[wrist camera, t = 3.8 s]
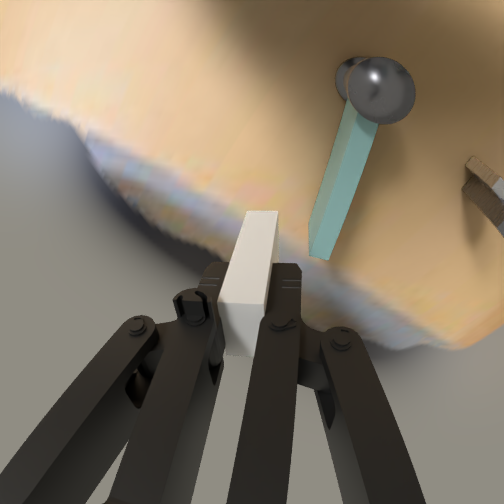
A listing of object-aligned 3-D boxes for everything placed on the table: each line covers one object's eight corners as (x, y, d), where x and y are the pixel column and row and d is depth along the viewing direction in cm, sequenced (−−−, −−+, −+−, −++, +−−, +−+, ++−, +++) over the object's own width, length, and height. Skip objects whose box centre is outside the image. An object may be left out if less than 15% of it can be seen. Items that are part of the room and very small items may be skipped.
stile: (452, 179, 24) (488, 217, 18) (472, 155, 22) (513, 187, 16) (472, 201, 24) (507, 242, 19) (492, 179, 23) (531, 215, 17)
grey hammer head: (324, 85, 21) (334, 95, 16) (354, 47, 19) (374, 43, 14) (366, 116, 22) (388, 137, 17) (395, 79, 20) (428, 88, 14)
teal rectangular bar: (348, 58, 19) (360, 58, 15) (385, 71, 19) (406, 75, 15) (300, 220, 28) (299, 254, 24) (332, 229, 28) (337, 263, 24)
